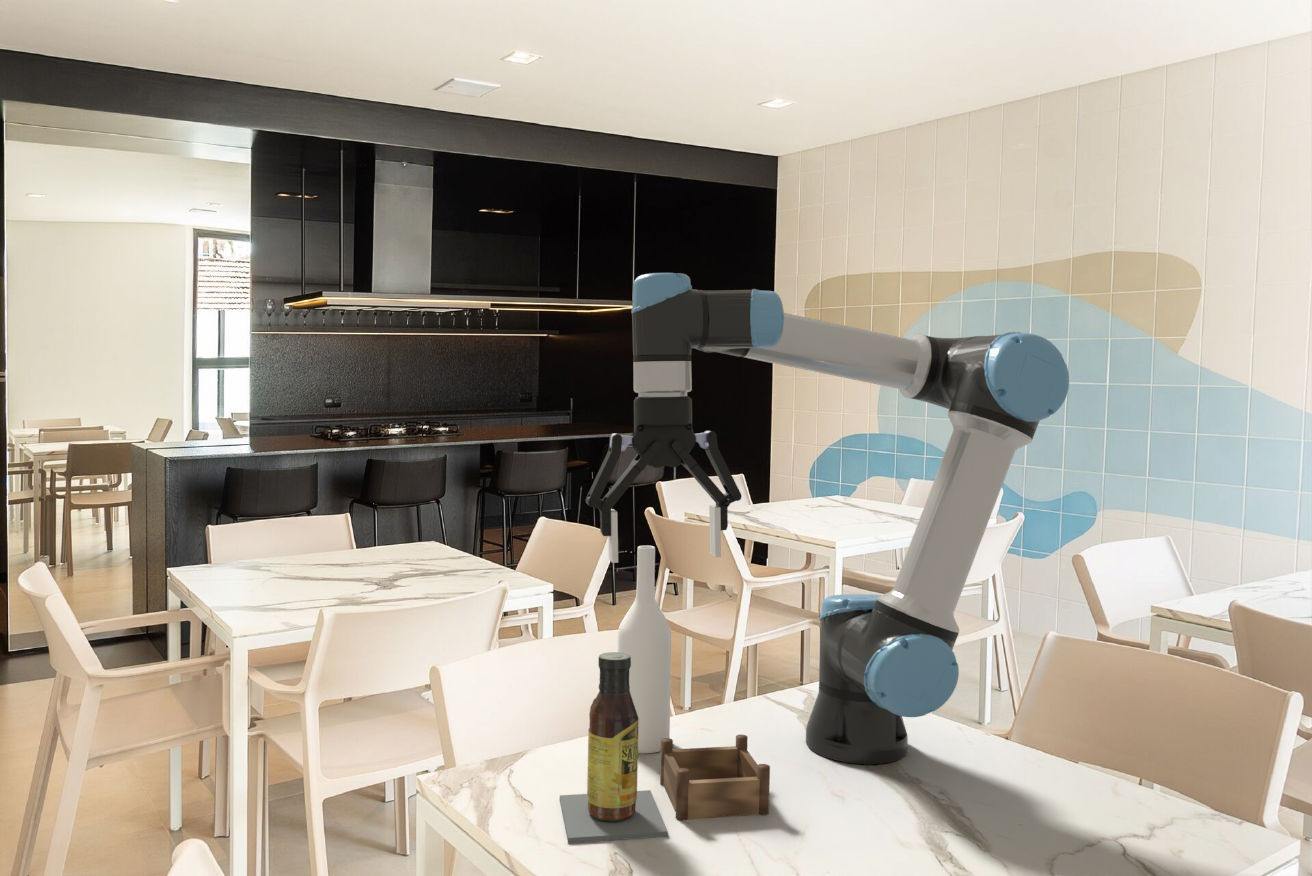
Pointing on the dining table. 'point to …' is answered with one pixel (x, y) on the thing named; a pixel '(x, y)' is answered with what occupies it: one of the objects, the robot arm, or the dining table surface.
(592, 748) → the sauce bottle
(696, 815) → the corner post wooden tray
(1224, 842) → the dining table surface
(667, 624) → the bottle
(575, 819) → the mat
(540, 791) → the dining table surface
